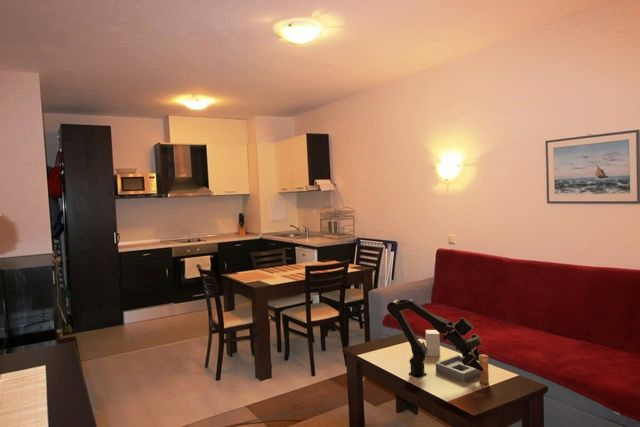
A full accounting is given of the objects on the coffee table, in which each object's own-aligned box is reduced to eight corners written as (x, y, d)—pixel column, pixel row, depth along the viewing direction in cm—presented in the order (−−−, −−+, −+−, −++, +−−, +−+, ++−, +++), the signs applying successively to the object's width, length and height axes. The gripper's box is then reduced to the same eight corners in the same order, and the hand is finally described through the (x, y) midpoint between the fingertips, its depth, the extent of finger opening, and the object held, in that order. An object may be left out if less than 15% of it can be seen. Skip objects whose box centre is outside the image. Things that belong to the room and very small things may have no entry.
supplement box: (440, 356, 239) (439, 333, 238) (426, 356, 240) (425, 333, 240) (439, 351, 246) (438, 329, 246) (426, 351, 248) (425, 329, 247)
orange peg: (485, 385, 201) (484, 358, 200) (477, 383, 204) (477, 355, 204) (490, 383, 203) (489, 356, 203) (483, 380, 206) (482, 353, 206)
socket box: (463, 383, 205) (463, 373, 205) (435, 371, 219) (435, 363, 219) (486, 373, 214) (485, 364, 214) (458, 363, 228) (457, 354, 228)
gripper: (468, 336, 196) (495, 363, 192) (472, 324, 213) (497, 349, 209) (451, 352, 200) (477, 378, 196) (456, 339, 217) (480, 363, 213)
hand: (483, 366), depth 203 cm, fingers open, 9 cm apart
